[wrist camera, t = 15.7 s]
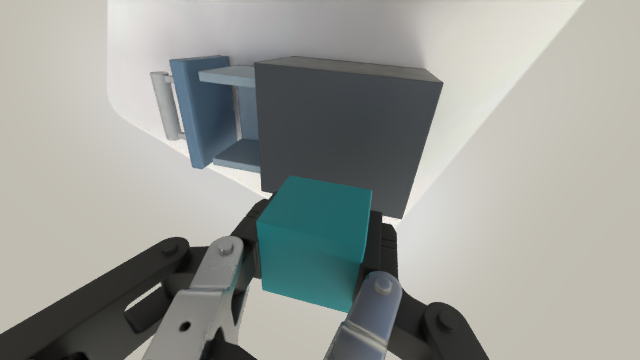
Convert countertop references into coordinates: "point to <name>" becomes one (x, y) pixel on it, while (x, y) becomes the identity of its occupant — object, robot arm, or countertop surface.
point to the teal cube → (314, 241)
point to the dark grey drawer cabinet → (344, 125)
